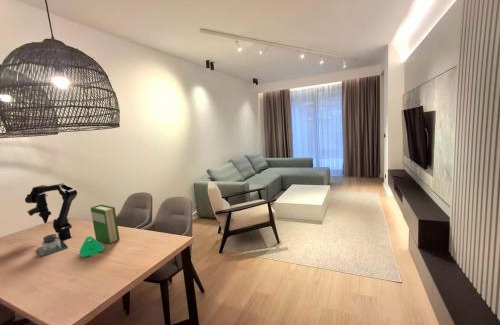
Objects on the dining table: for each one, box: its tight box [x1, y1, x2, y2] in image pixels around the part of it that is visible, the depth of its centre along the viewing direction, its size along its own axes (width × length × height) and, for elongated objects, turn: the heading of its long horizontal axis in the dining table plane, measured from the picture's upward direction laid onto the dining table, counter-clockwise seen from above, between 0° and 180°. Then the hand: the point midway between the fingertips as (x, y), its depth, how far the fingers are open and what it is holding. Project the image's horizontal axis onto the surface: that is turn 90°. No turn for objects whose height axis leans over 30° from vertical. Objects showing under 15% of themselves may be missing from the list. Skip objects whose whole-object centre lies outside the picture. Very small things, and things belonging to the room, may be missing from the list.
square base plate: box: [36, 237, 69, 258], centre depth 164 cm, size 14×16×6 cm
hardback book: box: [90, 204, 120, 245], centre depth 171 cm, size 18×7×24 cm, turn 57°
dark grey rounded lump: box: [43, 233, 58, 243], centre depth 164 cm, size 7×7×6 cm
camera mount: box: [78, 235, 105, 258], centre depth 154 cm, size 12×8×10 cm, turn 137°
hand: (45, 223), depth 182 cm, fingers closed
